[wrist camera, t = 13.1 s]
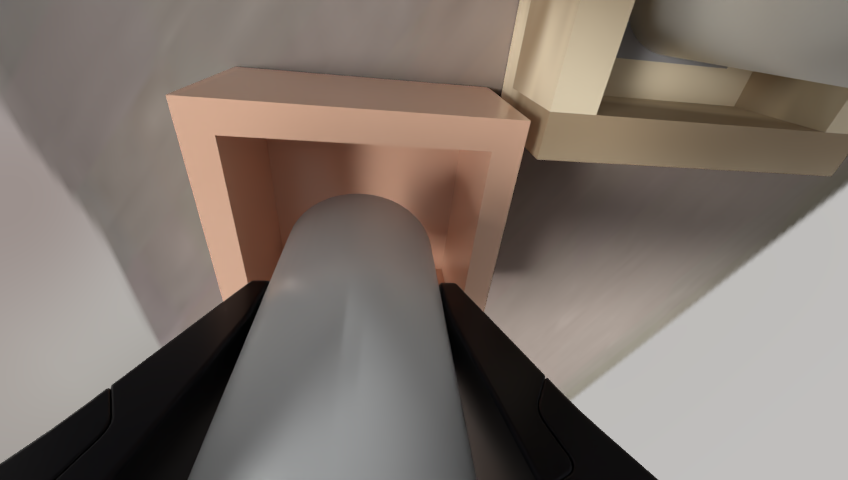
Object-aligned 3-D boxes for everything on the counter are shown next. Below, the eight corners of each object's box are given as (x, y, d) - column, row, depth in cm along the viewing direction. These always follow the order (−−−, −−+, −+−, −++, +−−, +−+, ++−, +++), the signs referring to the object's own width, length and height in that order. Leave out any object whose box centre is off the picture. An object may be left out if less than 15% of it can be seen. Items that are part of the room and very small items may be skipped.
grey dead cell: (424, 310, 11) (473, 676, 5) (294, 310, 11) (174, 716, 5) (439, 197, 9) (552, 589, 3) (278, 190, 9) (14, 644, 3)
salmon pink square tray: (455, 275, 16) (474, 349, 13) (270, 272, 15) (237, 352, 12) (488, 87, 12) (530, 120, 9) (234, 66, 11) (165, 95, 8)
